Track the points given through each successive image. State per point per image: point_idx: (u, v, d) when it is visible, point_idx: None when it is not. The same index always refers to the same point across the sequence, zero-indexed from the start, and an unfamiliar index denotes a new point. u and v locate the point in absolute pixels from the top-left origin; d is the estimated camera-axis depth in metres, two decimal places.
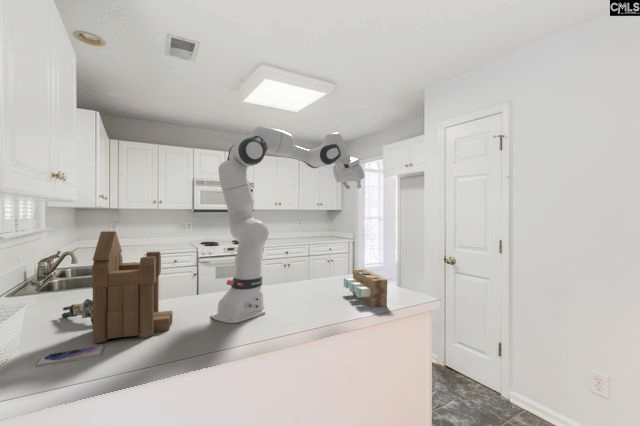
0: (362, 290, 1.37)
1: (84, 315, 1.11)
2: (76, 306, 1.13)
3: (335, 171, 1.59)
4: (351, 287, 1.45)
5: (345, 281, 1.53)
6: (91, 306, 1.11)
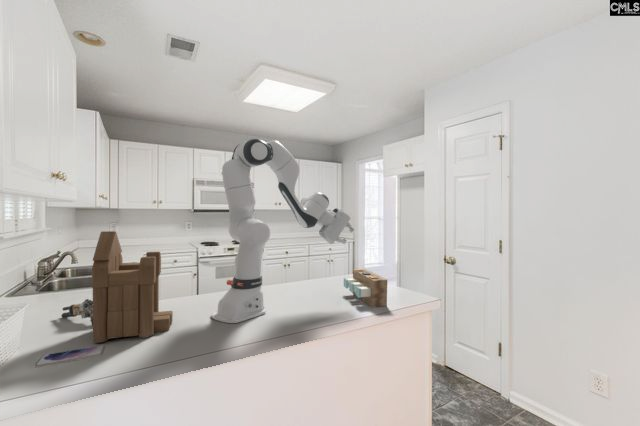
0: (362, 290, 1.37)
1: (84, 315, 1.11)
2: (76, 306, 1.13)
3: (326, 230, 1.47)
4: (351, 287, 1.45)
5: (345, 281, 1.53)
6: (91, 306, 1.11)
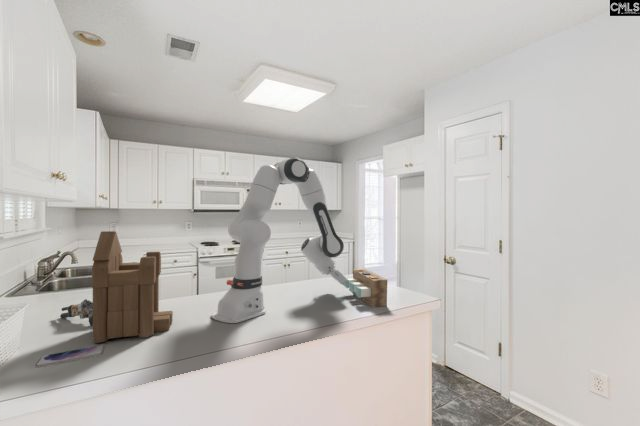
0: (362, 290, 1.37)
1: (82, 316, 1.10)
2: (74, 306, 1.13)
3: (336, 269, 1.45)
4: (351, 287, 1.45)
5: (346, 281, 1.53)
6: (89, 307, 1.10)
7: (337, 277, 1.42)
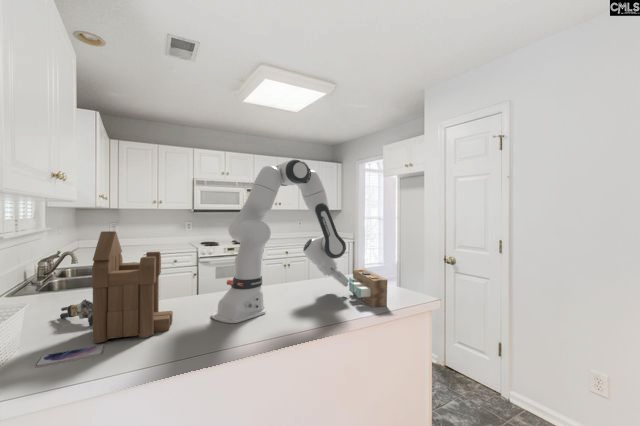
0: (362, 290, 1.37)
1: (81, 316, 1.10)
2: (74, 307, 1.13)
3: None
4: (351, 287, 1.45)
5: (351, 281, 1.54)
6: (88, 307, 1.10)
7: (339, 278, 1.42)
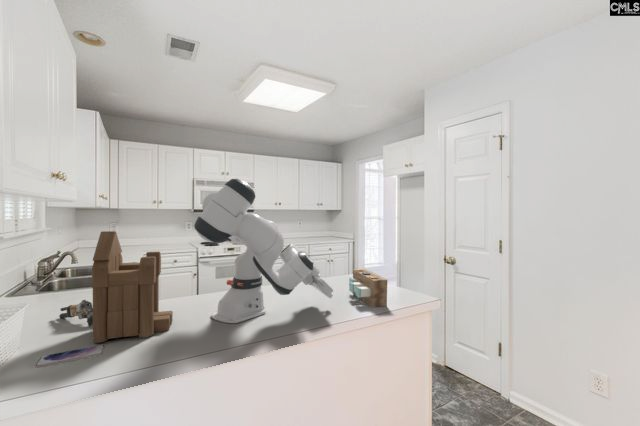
0: (362, 290, 1.37)
1: (80, 316, 1.10)
2: (73, 307, 1.12)
3: (321, 278, 1.25)
4: (351, 287, 1.45)
5: (351, 281, 1.54)
6: (87, 307, 1.10)
7: (322, 287, 1.22)
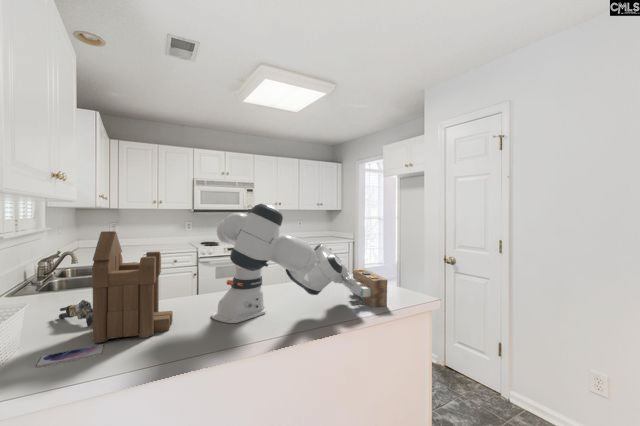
0: (364, 290, 1.37)
1: (79, 316, 1.10)
2: (72, 307, 1.12)
3: (351, 278, 1.29)
4: None
5: None
6: (86, 307, 1.10)
7: (352, 287, 1.26)
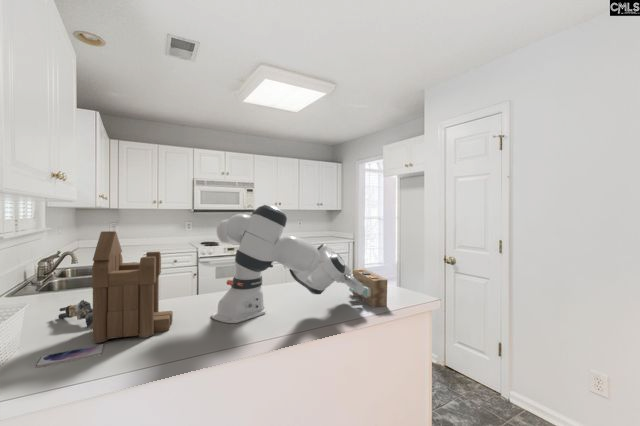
0: (368, 290, 1.37)
1: (79, 316, 1.10)
2: (72, 307, 1.12)
3: (353, 277, 1.30)
4: None
5: None
6: (86, 307, 1.09)
7: (354, 286, 1.27)
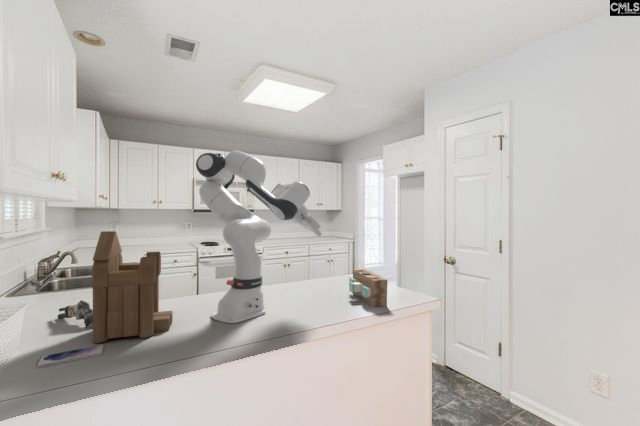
0: (368, 290, 1.37)
1: (78, 317, 1.09)
2: (71, 307, 1.12)
3: None
4: (351, 287, 1.45)
5: (351, 281, 1.54)
6: (85, 308, 1.09)
7: (310, 223, 1.29)
